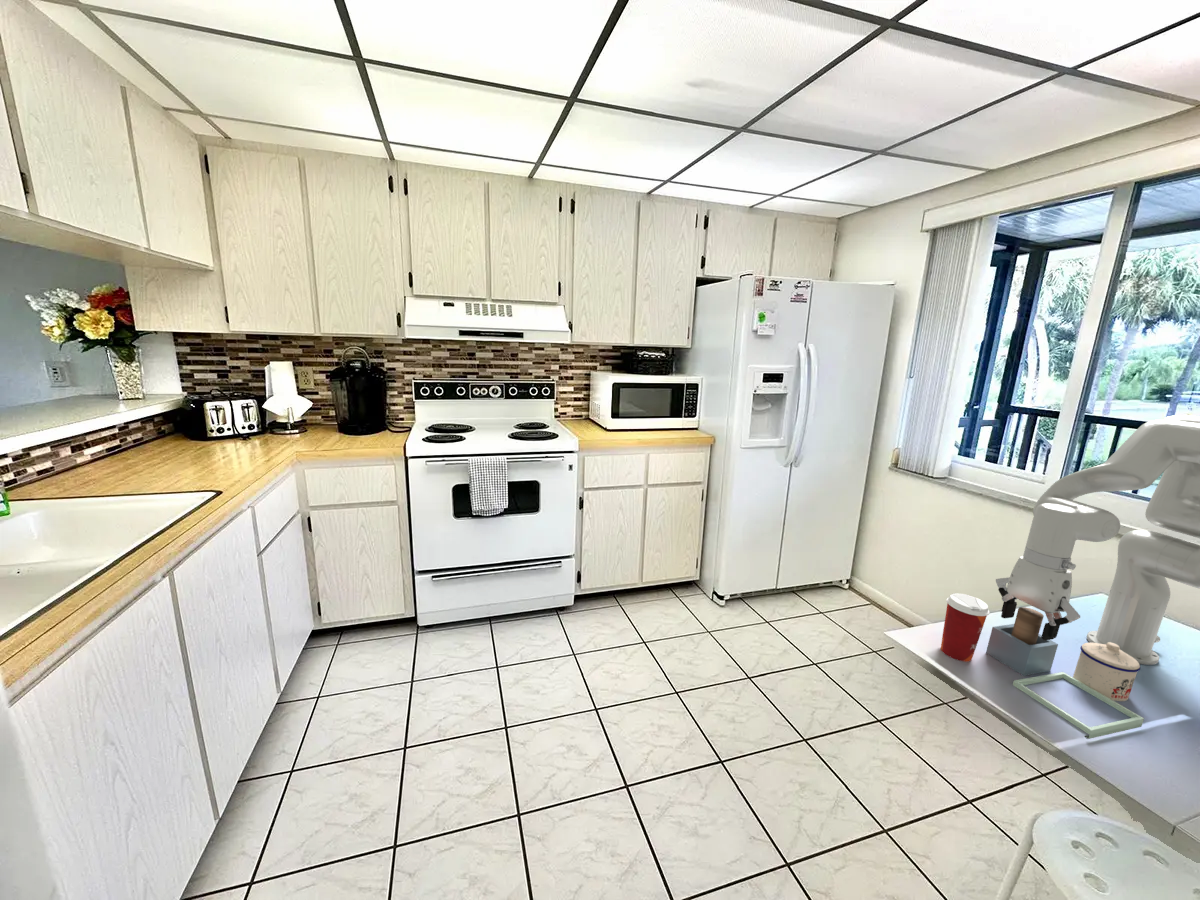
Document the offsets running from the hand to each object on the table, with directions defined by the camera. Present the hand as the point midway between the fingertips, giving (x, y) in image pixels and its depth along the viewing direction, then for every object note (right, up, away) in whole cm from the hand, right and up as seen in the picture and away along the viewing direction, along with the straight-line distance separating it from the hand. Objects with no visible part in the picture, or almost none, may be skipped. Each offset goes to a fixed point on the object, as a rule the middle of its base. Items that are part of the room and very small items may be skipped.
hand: (1026, 627), depth 111 cm
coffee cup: (-13, -9, +4) cm, 17 cm away
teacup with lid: (+13, -12, -5) cm, 18 cm away
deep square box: (0, -10, +2) cm, 10 cm away
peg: (0, -9, +2) cm, 9 cm away
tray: (0, -13, -11) cm, 17 cm away
